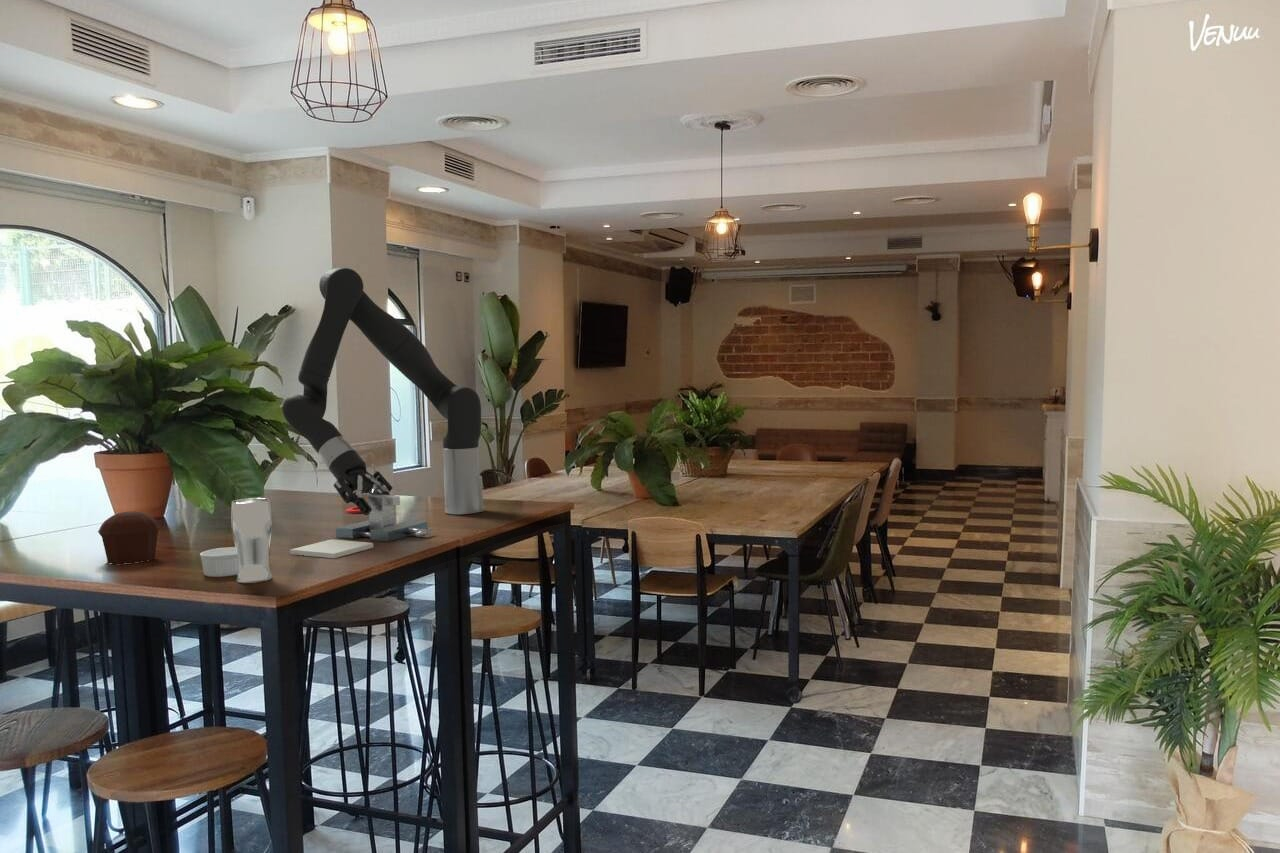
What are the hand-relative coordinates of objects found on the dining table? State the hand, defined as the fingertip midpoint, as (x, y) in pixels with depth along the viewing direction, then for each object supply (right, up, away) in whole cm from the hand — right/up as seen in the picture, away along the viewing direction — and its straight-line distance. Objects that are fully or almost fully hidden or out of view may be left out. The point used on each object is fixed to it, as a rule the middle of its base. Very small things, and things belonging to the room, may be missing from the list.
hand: (381, 510), depth 225 cm
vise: (+2, -6, -1) cm, 6 cm away
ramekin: (-20, -9, -38) cm, 44 cm away
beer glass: (-12, -9, -45) cm, 47 cm away
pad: (-6, -7, -18) cm, 21 cm away
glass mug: (+1, -6, 0) cm, 6 cm away
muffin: (-46, -9, -24) cm, 52 cm away
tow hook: (-15, -4, +36) cm, 39 cm away
